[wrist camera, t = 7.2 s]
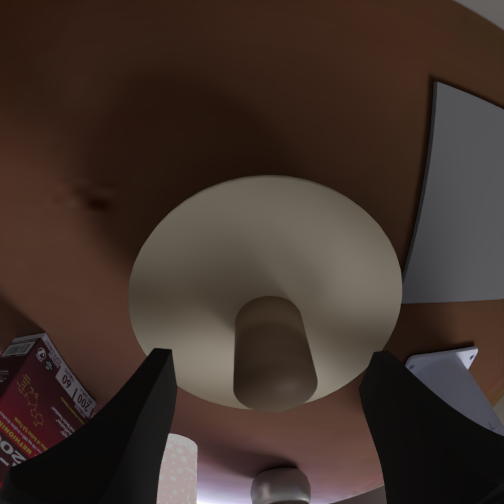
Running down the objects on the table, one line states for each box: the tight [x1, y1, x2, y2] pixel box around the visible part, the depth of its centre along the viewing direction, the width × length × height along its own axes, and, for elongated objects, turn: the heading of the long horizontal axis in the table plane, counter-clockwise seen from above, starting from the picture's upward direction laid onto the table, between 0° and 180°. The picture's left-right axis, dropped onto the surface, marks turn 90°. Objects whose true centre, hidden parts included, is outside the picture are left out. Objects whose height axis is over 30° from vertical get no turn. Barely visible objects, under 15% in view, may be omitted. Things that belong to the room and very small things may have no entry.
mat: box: [401, 82, 504, 304], centre depth 16 cm, size 14×14×1 cm
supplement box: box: [0, 333, 96, 504], centre depth 14 cm, size 9×5×16 cm, turn 15°
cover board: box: [128, 175, 402, 412], centre depth 12 cm, size 12×12×4 cm
